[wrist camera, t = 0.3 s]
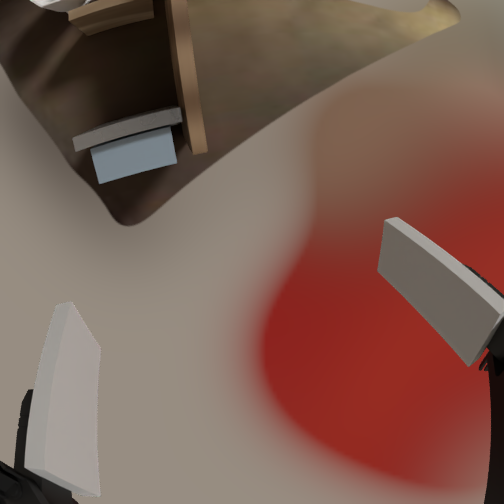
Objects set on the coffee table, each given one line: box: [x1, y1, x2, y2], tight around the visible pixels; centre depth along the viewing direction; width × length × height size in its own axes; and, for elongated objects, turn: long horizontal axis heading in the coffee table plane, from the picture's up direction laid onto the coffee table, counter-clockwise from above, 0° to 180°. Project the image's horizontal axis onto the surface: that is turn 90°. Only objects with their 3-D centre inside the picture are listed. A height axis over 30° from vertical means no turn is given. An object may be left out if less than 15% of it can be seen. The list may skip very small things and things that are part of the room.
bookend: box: [72, 105, 182, 151], centre depth 25 cm, size 2×9×12 cm, turn 97°
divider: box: [68, 0, 154, 36], centre depth 19 cm, size 1×8×8 cm, turn 97°
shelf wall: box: [164, 0, 208, 155], centre depth 21 cm, size 25×1×12 cm, turn 7°
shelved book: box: [90, 124, 177, 184], centre depth 26 cm, size 3×7×11 cm, turn 97°
